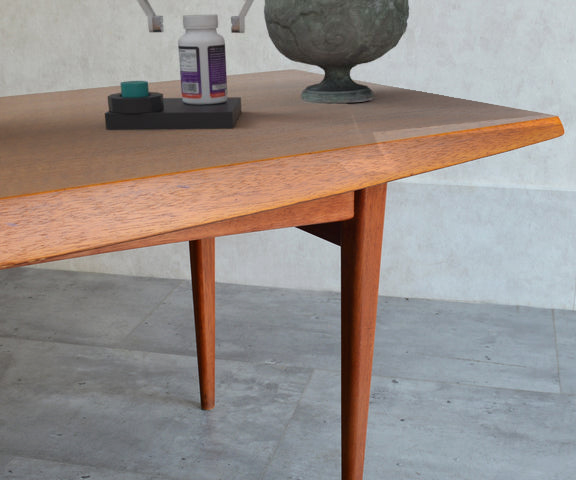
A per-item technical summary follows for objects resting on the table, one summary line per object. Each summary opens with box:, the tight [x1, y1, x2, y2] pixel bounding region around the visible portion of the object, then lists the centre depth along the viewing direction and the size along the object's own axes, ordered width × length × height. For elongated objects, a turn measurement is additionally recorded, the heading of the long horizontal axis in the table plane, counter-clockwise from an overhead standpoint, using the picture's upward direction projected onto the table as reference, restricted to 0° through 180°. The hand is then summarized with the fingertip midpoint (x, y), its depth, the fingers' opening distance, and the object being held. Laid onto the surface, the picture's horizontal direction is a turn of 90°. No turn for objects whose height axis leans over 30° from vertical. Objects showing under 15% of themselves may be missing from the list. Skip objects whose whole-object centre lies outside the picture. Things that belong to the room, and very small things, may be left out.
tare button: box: [119, 80, 150, 97], centre depth 82 cm, size 3×3×2 cm
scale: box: [104, 91, 242, 131], centre depth 85 cm, size 14×12×4 cm
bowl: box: [263, 0, 410, 104], centre depth 100 cm, size 20×19×15 cm
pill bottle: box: [177, 14, 228, 105], centre depth 86 cm, size 5×5×10 cm
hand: (197, 32), depth 85 cm, fingers open, 8 cm apart
